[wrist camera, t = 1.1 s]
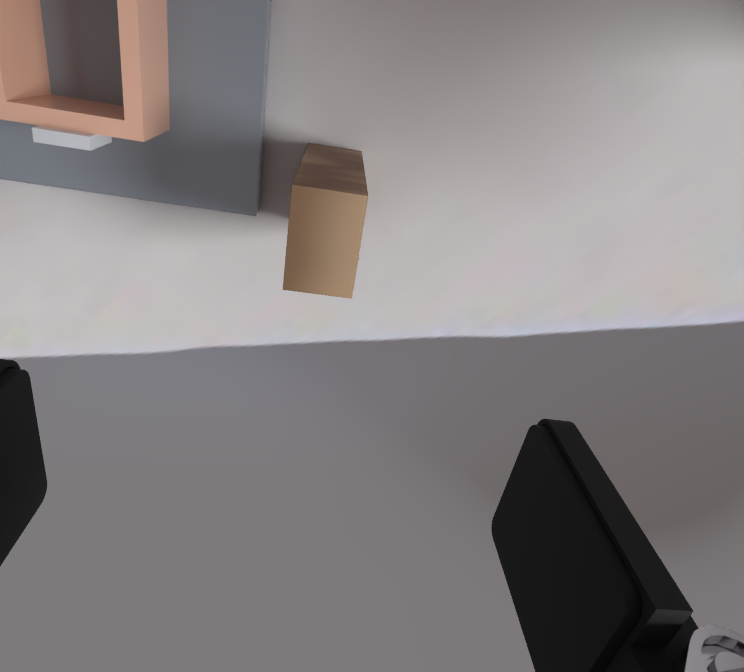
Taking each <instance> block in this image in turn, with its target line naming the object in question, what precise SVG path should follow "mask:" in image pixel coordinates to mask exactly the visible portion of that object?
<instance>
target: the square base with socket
mask: <svg viewBox="0 0 744 672" xmlns="http://www.w3.org/2000/svg"><path fill="white" fill-rule="evenodd" d="M270 6H271V0H0V179H4V180H11V181H18V182H25V183H32V184H38V185H45V186H52V187H59V188H66V189H73V190H80V191H87V192H94V193H101V194H107V195H114V196H121V197H128V198H135V199H142V200H149V201H156V202H163V203H170V204H176V205H183V206H190V207H197V208H204V209H211V210H218V211H225V212H232V213H239V214H245V215H252V216H256V215H257V213H258V212H259V197H260V180H261V162H262V145H263V128H264V110H265V93H266V76H267V58H268V41H269V24H270Z"/></svg>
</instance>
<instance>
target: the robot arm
mask: <svg viewBox="0 0 744 672" xmlns="http://www.w3.org/2000/svg"><path fill="white" fill-rule="evenodd" d="M46 490H47V479H46V472H45V466H44V460H43V455H42V449H41V443H40V436H39V430H38V424H37V418H36V412H35V406H34V401H33V394H32V388H31V382H30V377H29V374H28V372H27V371H25V370H20V367H19V365H18V364H17V362H15V361H13V360H5V359H0V566H1V564H2V563H3V561H4V560H5V558H6V557H7V555H8V554H9V552H10V550H11V549H12V547H13V546H14V545H15V543H16V541H17V540H18V538H19V537H20V535H21V534H22V532H23V531H24V529H25V528H26V526H27V525H28V523H29V522H30V520H31V519H32V517H33V516H34V514H35V512H36V511H37V509H38V508H39V506H40V505H41V503H42V501H43V499H44V497H45V494H46ZM492 536H493V540H494V543H495V546H496V549H497V552H498V555H499V559H500V562H501V565H502V568H503V571H504V574H505V577H506V581H507V584H508V586H509V590H510V593H511V596H512V599H513V603H514V605H515V609H516V612H517V615H518V618H519V621H520V624H521V628H522V631H523V634H524V637H525V640H526V643H527V647H528V650H529V653H530V656H531V659H532V662H533V665H534V669H535V672H744V636H743V635H741V634H739V633H737V632H735V631H733V630H731V629H727V628H724V627H720V626H716V625H715V626H702V627H701V628H698V627H697V625H696V623H695V622H694V620H693V619H692V617H691V614H692V612H693V610H692V608H691V607H690V605H689V604H688V602H687V601H686V599H685V597H684V596H683V594H682V593H681V591H680V590H679V588H678V586H677V585H676V583H675V582H674V580H673V578H672V577H671V575H670V574H669V572H668V571H667V569H666V567H665V566H664V564H663V563H662V561H661V559H660V558H659V556H658V555H657V553H656V552H655V550H654V549H653V547H652V545H651V544H650V542H649V541H648V539H647V537H646V536H645V534H644V533H643V531H642V530H641V528H640V526H639V525H638V523H637V522H636V520H635V518H634V517H633V516H632V514H631V512H630V511H629V509H628V507H627V506H626V504H625V503H624V501H623V500H622V498H621V496H620V495H619V493H618V492H617V490H616V489H615V487H614V485H613V484H612V482H611V481H610V479H609V478H608V476H607V474H606V473H605V471H604V470H603V468H602V466H601V465H600V463H599V462H598V460H597V459H596V457H595V455H594V454H593V452H592V451H591V449H590V448H589V446H588V445H587V443H586V441H585V440H584V438H583V437H582V435H581V433H580V432H579V430H578V429H577V428H576V426H575V425H574V423H572V422H570V421H561V420H551V419H542V420H541V421H539V423H538V424H537V425H532V426H531V427H530V428H529V430H528V433H527V435H526V437H525V440H524V443H523V445H522V447H521V450H520V452H519V455H518V457H517V460H516V462H515V465H514V467H513V470H512V472H511V475H510V477H509V480H508V482H507V485H506V487H505V490H504V492H503V495H502V497H501V500H500V502H499V505H498V507H497V510H496V512H495V515H494V517H493V520H492Z"/></svg>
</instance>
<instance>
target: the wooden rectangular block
mask: <svg viewBox="0 0 744 672" xmlns="http://www.w3.org/2000/svg"><path fill="white" fill-rule="evenodd" d="M367 200H368V192H367V185H366V178H365V172H364V165H363V158H362V152H360V151H354V150H348V149H342V148H336V147H330V146H324V145H318V144H311V143H308V145H307V148H306V150H305V153H304V155H303V158H302V160H301V163H300V165H299V168H298V170H297V173H296V176H295V178H294V181H293V183H292V189H291V201H290V212H289V224H288V236H287V247H286V259H285V270H284V282H283V290H290V291H298V292H305V293H313V294H321V295H328V296H336V297H344V298H352V295H353V288H354V282H355V276H356V269H357V263H358V257H359V251H360V244H361V238H362V232H363V225H364V219H365V213H366V206H367Z"/></svg>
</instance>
